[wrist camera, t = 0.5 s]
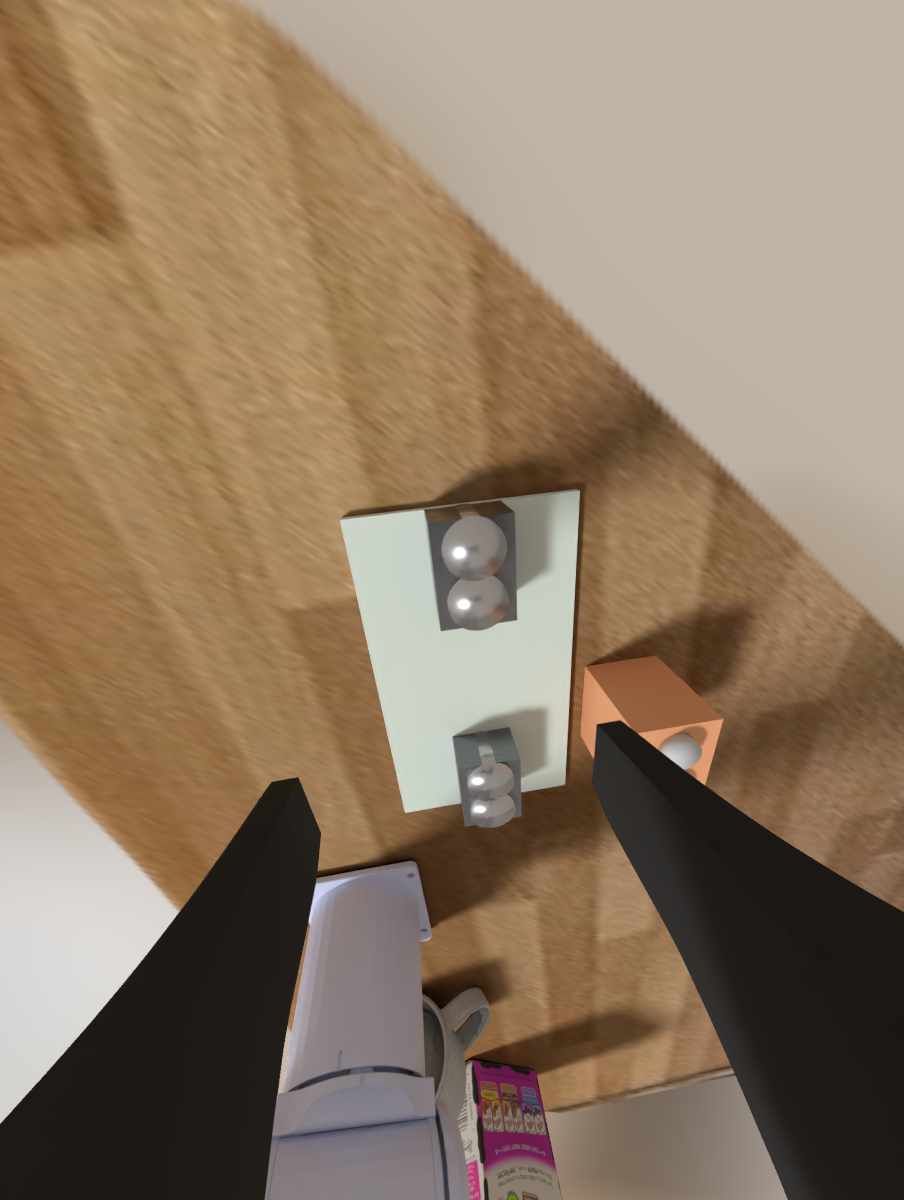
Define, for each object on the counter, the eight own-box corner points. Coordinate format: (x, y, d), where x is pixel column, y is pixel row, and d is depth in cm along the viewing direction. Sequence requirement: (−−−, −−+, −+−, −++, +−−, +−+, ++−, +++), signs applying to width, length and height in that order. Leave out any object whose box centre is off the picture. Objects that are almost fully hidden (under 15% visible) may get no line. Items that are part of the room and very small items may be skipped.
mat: (562, 779, 25) (565, 784, 24) (404, 806, 24) (405, 812, 24) (576, 489, 17) (580, 490, 16) (341, 517, 16) (339, 519, 16)
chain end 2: (511, 783, 24) (523, 822, 21) (459, 792, 23) (465, 832, 21) (509, 726, 22) (522, 762, 19) (452, 735, 21) (458, 773, 19)
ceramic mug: (392, 1037, 38) (393, 1176, 31) (359, 1005, 34) (351, 1154, 27) (496, 1002, 38) (520, 1133, 31) (473, 966, 34) (494, 1106, 27)
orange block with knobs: (644, 723, 23) (710, 807, 18) (580, 734, 23) (630, 822, 18) (655, 654, 21) (734, 728, 16) (584, 665, 21) (643, 744, 16)
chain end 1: (504, 598, 18) (519, 624, 16) (436, 608, 18) (441, 636, 16) (500, 499, 16) (516, 512, 14) (423, 508, 16) (427, 523, 14)
